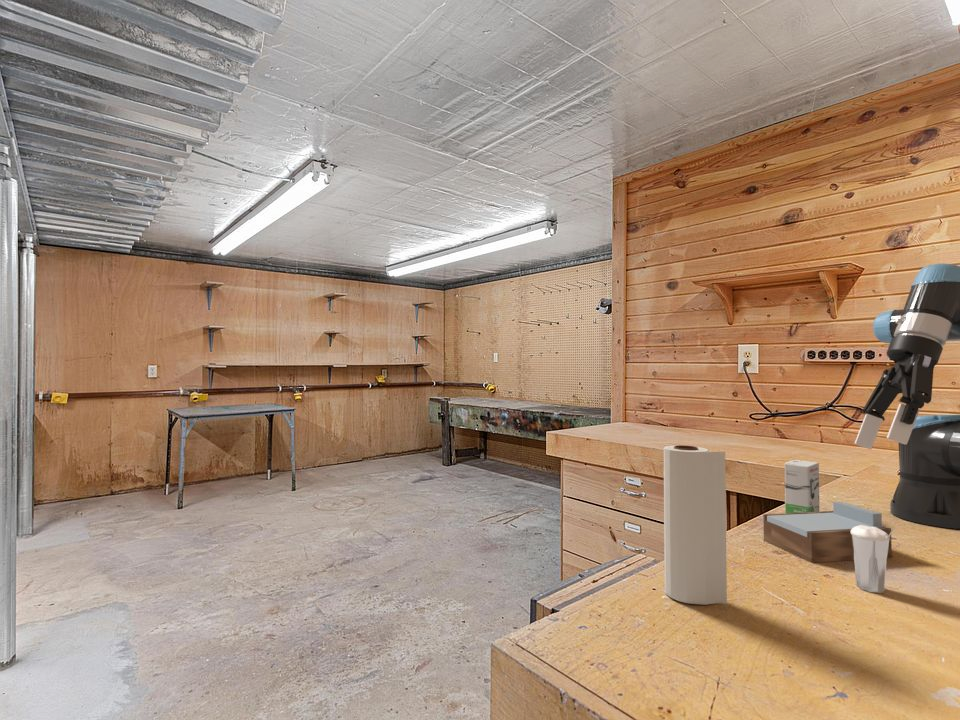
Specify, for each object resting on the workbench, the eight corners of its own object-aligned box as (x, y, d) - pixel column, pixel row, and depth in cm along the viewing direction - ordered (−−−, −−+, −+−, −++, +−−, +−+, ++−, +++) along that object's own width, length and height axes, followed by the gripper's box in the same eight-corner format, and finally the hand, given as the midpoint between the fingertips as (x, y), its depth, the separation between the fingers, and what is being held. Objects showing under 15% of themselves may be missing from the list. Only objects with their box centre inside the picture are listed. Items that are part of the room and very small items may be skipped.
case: (835, 536, 95) (835, 510, 95) (891, 557, 84) (891, 528, 85) (763, 540, 93) (763, 514, 93) (811, 562, 82) (811, 533, 82)
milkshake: (887, 600, 68) (886, 529, 69) (845, 585, 73) (844, 519, 73) (903, 593, 70) (902, 524, 71) (860, 579, 75) (859, 515, 75)
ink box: (809, 520, 106) (808, 466, 106) (783, 515, 110) (783, 463, 110) (820, 512, 112) (819, 461, 112) (795, 508, 115) (795, 458, 116)
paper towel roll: (655, 590, 71) (654, 445, 72) (687, 583, 73) (685, 443, 74) (693, 612, 65) (692, 452, 65) (727, 605, 67) (725, 450, 67)
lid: (839, 517, 95) (839, 500, 95) (886, 532, 85) (885, 514, 86) (766, 520, 92) (766, 504, 92) (806, 537, 83) (806, 518, 83)
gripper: (866, 351, 105) (831, 440, 103) (930, 314, 82) (886, 428, 80) (907, 363, 102) (871, 456, 100) (985, 329, 79) (941, 448, 77)
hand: (878, 444), depth 90 cm, fingers open, 13 cm apart
